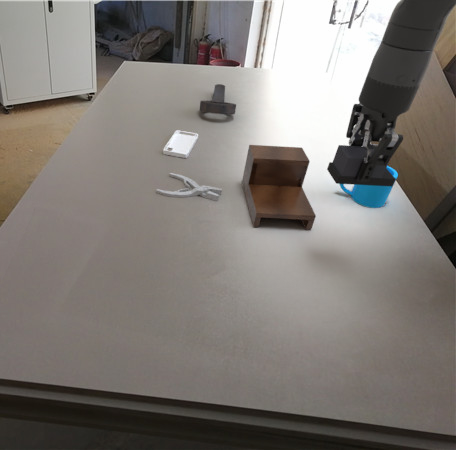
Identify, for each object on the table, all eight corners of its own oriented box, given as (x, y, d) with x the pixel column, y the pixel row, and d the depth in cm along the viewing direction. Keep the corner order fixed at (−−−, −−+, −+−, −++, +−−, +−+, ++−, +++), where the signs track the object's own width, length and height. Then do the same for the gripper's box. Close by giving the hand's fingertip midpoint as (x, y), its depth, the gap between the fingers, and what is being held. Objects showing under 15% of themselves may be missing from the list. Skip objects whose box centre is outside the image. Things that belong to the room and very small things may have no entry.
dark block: (380, 172, 74) (391, 147, 71) (392, 186, 71) (404, 161, 67) (326, 169, 74) (335, 144, 71) (336, 183, 70) (345, 158, 67)
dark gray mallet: (202, 104, 162) (198, 111, 135) (204, 82, 159) (201, 85, 131) (232, 107, 161) (235, 115, 133) (235, 85, 158) (239, 88, 130)
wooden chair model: (291, 185, 106) (302, 147, 99) (310, 230, 91) (325, 188, 84) (241, 183, 106) (249, 144, 99) (253, 227, 91) (263, 185, 84)
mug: (381, 193, 105) (394, 165, 100) (387, 210, 98) (401, 181, 93) (333, 185, 107) (343, 157, 102) (336, 201, 101) (347, 173, 96)
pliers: (170, 169, 107) (225, 182, 102) (170, 174, 108) (224, 188, 103) (156, 187, 99) (215, 202, 95) (156, 192, 100) (214, 208, 96)
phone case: (186, 158, 115) (198, 137, 127) (187, 154, 114) (199, 133, 126) (162, 154, 117) (176, 133, 128) (162, 149, 116) (176, 129, 127)
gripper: (444, 94, 56) (394, 196, 66) (397, 64, 67) (360, 155, 78) (391, 91, 56) (348, 194, 66) (352, 61, 67) (321, 153, 78)
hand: (355, 172), depth 72 cm, fingers closed on dark block, 5 cm apart
